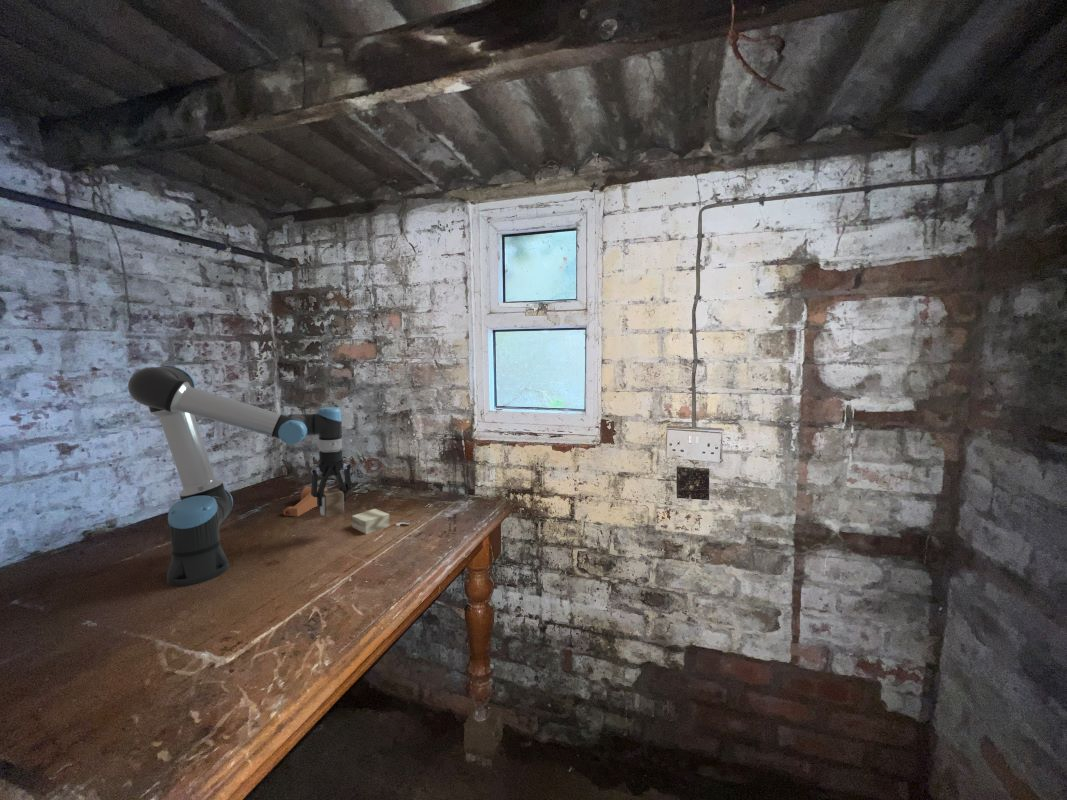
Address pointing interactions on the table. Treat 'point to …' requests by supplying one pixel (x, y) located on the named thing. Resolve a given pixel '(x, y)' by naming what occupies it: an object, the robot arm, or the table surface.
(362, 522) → the pale square block
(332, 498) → the walnut block
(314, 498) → the crank
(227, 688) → the table surface
